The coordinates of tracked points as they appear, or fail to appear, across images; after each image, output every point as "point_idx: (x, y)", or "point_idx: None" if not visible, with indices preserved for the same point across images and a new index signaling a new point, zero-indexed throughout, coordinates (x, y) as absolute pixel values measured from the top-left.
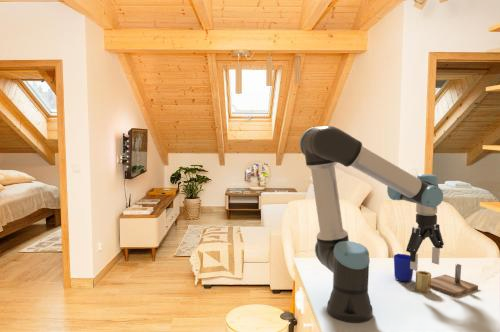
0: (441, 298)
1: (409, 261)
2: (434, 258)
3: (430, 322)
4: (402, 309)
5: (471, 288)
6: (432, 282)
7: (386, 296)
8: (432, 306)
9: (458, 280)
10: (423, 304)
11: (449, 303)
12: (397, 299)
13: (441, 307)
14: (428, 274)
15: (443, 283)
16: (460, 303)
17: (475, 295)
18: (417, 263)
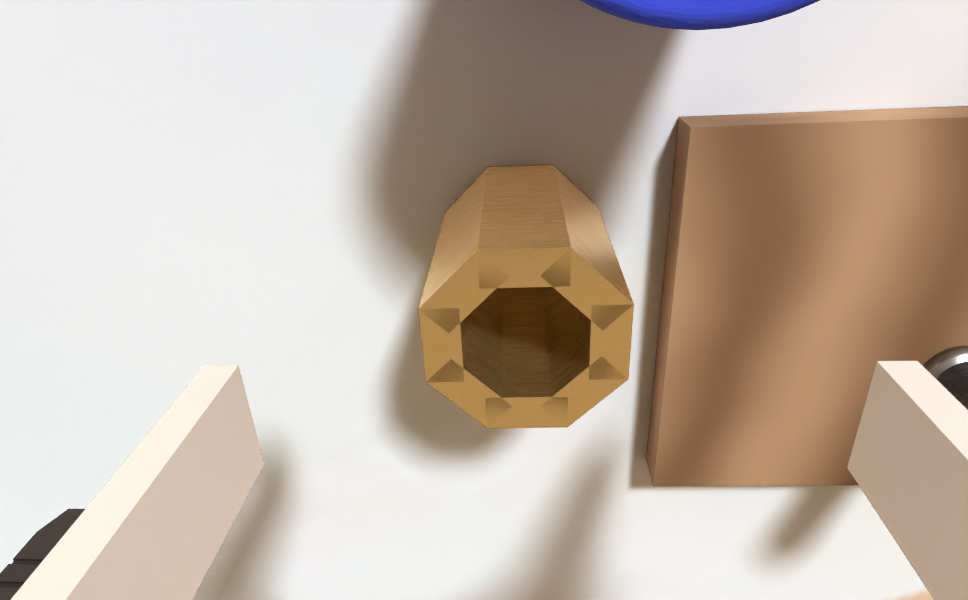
0: (509, 429)
1: (609, 9)
2: (920, 480)
3: None
4: (8, 415)
5: None
6: (760, 223)
7: (3, 171)
8: (295, 479)
9: None
10: None
11: (477, 504)
12: (82, 272)
13: (350, 514)
14: (539, 406)
15: (840, 301)
16: (558, 535)
17: (846, 512)
18: (206, 562)
